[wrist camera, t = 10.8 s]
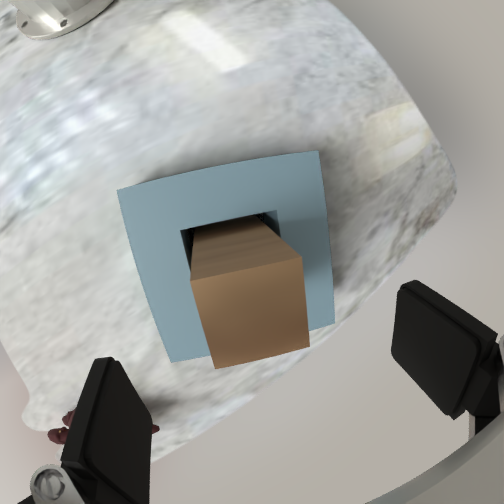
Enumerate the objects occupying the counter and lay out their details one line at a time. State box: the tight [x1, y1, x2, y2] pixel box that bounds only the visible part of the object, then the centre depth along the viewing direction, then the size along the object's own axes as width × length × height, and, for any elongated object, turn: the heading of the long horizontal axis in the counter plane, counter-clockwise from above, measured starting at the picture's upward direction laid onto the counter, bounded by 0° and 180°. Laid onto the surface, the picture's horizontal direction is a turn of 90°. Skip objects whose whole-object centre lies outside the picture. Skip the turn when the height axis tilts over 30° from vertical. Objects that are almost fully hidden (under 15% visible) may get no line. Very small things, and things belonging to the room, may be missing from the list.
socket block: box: [117, 150, 335, 363], centre depth 21 cm, size 13×13×5 cm
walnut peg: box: [190, 214, 310, 369], centre depth 18 cm, size 5×5×12 cm
